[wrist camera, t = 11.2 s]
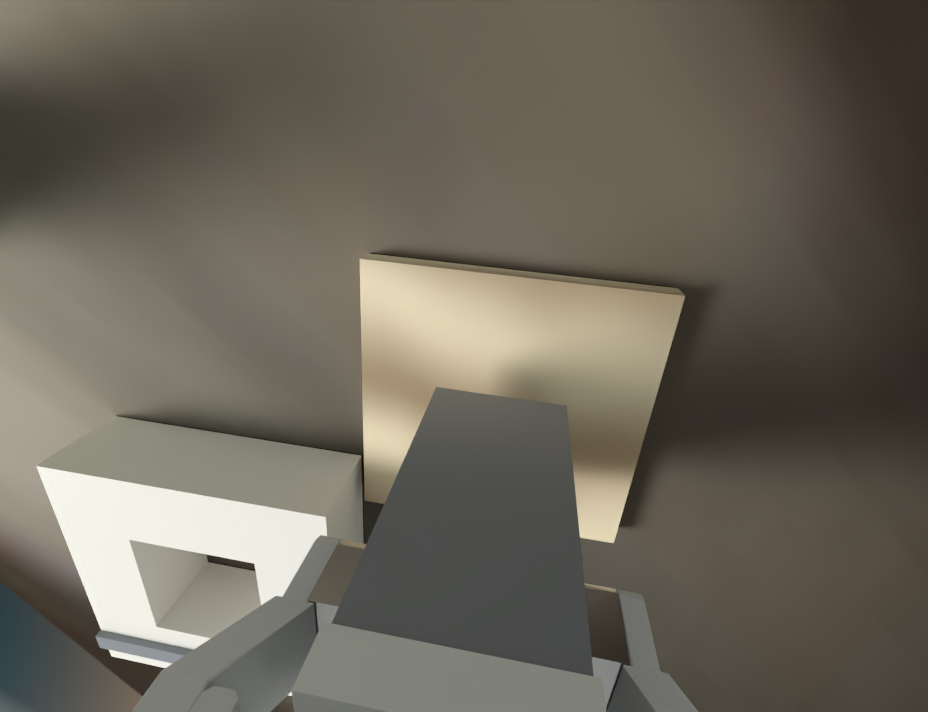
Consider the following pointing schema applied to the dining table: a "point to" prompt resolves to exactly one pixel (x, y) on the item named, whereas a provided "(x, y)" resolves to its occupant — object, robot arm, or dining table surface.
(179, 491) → the white flat square piece
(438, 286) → the coaster
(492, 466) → the plug
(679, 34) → the dining table surface
